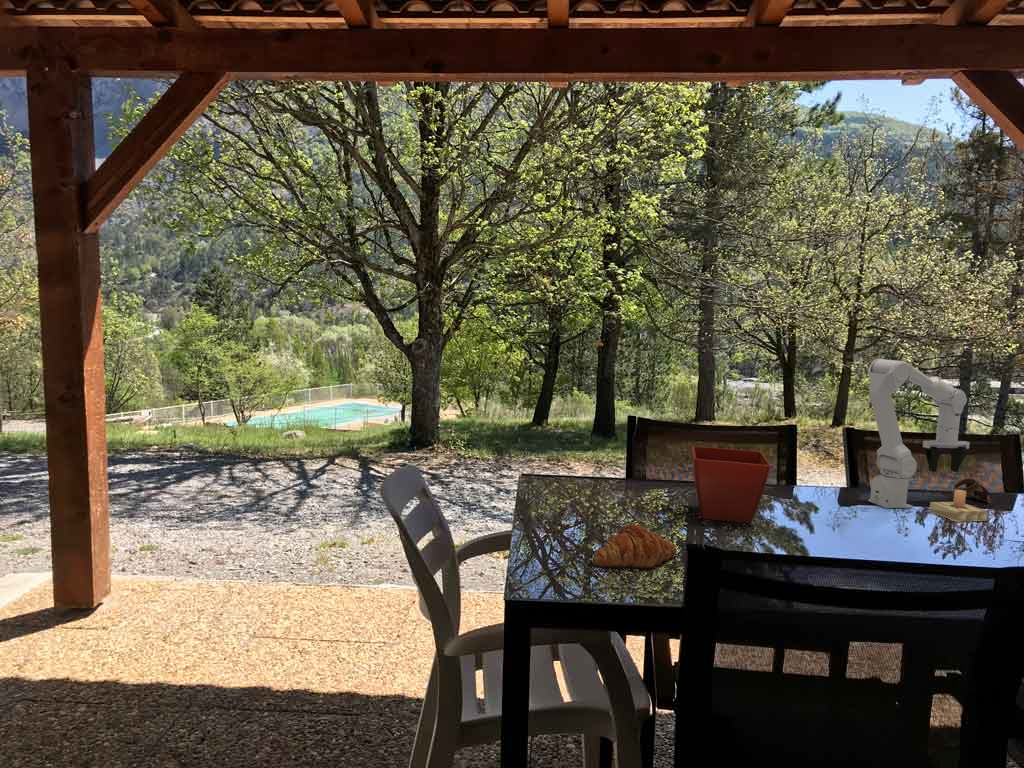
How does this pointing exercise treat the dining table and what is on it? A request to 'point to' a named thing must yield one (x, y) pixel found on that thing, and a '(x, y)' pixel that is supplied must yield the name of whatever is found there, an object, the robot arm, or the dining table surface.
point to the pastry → (634, 549)
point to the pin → (959, 499)
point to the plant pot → (729, 482)
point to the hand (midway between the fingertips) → (943, 471)
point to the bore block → (958, 512)
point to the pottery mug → (973, 488)
